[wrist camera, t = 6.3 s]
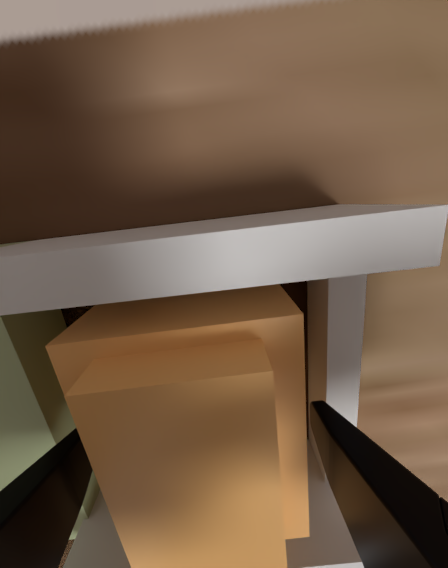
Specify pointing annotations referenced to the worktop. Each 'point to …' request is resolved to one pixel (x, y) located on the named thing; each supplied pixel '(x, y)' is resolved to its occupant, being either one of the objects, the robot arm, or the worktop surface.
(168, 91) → the worktop surface
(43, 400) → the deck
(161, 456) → the orange stepped block
